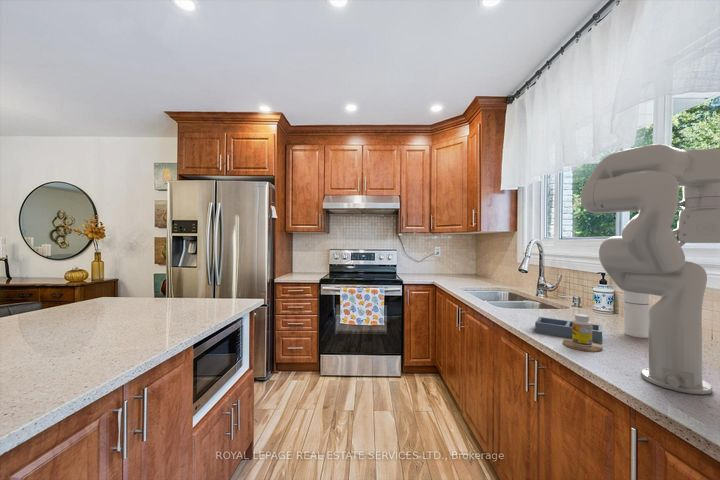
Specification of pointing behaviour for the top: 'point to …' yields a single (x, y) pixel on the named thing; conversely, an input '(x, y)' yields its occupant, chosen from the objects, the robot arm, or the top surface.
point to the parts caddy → (563, 328)
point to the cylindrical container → (636, 314)
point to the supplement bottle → (582, 330)
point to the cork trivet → (592, 348)
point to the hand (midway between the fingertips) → (702, 263)
